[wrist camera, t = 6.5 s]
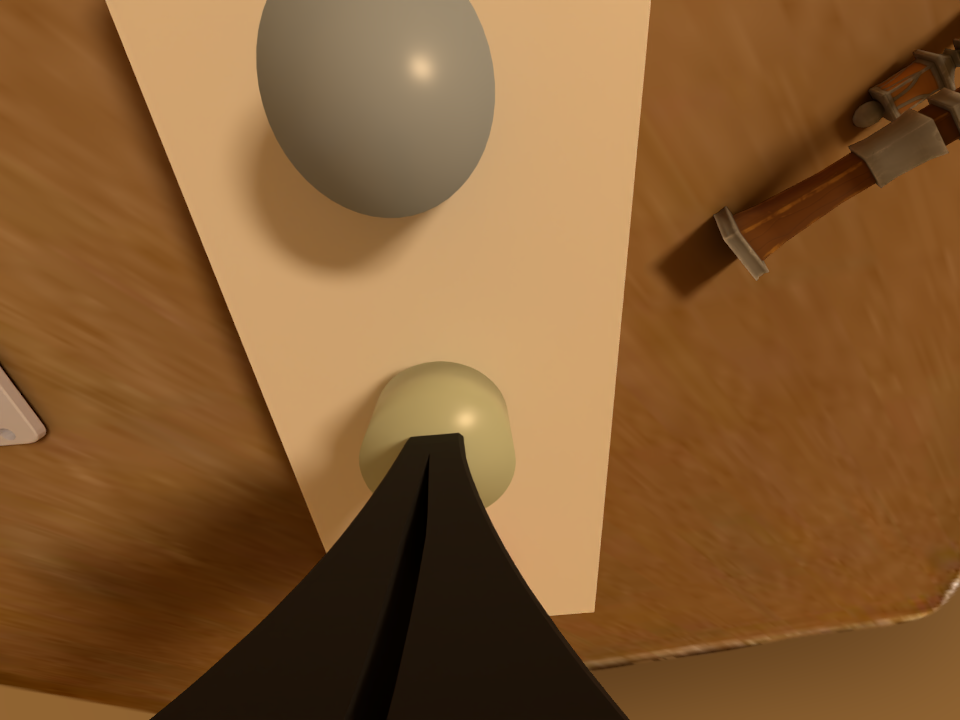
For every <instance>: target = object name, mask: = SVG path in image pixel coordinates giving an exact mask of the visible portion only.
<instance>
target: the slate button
mask: <svg viewBox="0 0 960 720" xmlns="http://www.w3.org/2000/svg"><path fill="white" fill-rule="evenodd" d="M256 69H257V77H258V86H259V91H260V95H261V99H262V104H263V107H264V110H265V113H266V116H267V119H268V122H269V124H270V126H271V129H272V131H273V133H274V135H275V137H276V140H277V141H278V143H279V145H280V146H281V148H282V150H283V151H284V153H285V155H286V156H287V157H288V159H289V160H290V162H291V163H292V164H293V166H294V167H295V168H296V169H297V171H298V172H299V173H300V174H301V175H302V176H303V177H304V178H305V179H306V180H307V181H308V182H309V183H310V184H311V185H312V186H313V187H314V188H316V189H317V190H318V191H319V192H320V193H322V194H323V195H325V196H326V197H327V198H329V199H330V200H332V201H334V202H335V203H337V204H339V205H341V206H343V207H345V208H347V209H350V210H352V211H355V212H357V213H361V214H364V215H368V216H373V217H381V218H401V217H407V216H413V215H416V214H419V213H423V212H426V211H428V210H430V209H432V208H434V207H436V206H438V205H439V204H441V203H442V202H444V201H445V200H447V199H448V198H450V197H451V196H452V195H453V194H454V193H455V192H456V191H458V190H459V189H460V188H461V186H462V185H463V184H464V183H465V182H466V181H467V179H468V178H469V177H470V175H471V174H472V172H473V171H474V169H475V168H476V166H477V164H478V162H479V160H480V158H481V156H482V154H483V152H484V150H485V147H486V144H487V141H488V138H489V135H490V131H491V126H492V122H493V115H494V107H495V79H494V69H493V62H492V58H491V53H490V49H489V45H488V42H487V39H486V36H485V33H484V30H483V27H482V25H481V22H480V20H479V18H478V16H477V14H476V12H475V9H474V8H473V6H472V4H471V3H470V1H469V0H267V1H266V3H265V6H264V9H263V12H262V16H261V20H260V24H259V28H258V37H257V46H256Z"/></svg>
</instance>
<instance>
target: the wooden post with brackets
mask: <svg viewBox="0 0 960 720" xmlns="http://www.w3.org/2000/svg"><path fill="white" fill-rule="evenodd" d="M953 44H954V47H955V50H951V49H946V48H945V50H944V52H943V54H935V53H931V52H927V51H923V50H919V49H917V50H916V51H914V52H913V54H914V56H915V58H916V60H914V61H913V62H912V63H911V64H910V65H908V66H907V67H905V68H904V69H902V70H901V71H899V72H897V73H896V74H894V75H893V76H891V77H890V78H888V79H886V80H885V81H883V82H882V83H880V84H878V85H876V86H875V87H873V88H870V89H869V90H868V91H869V93H870V95H871V97H872V99H873V100H874V101H869V102H866V103H864V104H863V105H861V106H860V107H859V108H858V109H857V110H856V111H855V113H854V115H853V123H854V125H855V126H857V127H862V128H863V127H869V126H871V125H873V124H875V123H876V122H878V121H879V120H880V119H881V118H882V117H884V118H885V119H887V120H889V121H891V123H890V124H888V125H886V126H885V127H883V128H882V129H880V130H878V131H877V132H875V133H874V134H872V135H870V136H869V137H867V138H866V139H864V140H862V141H859V142H857V143H855V144H853V145H850V146H848V147H849V149H850V151H851V153H849V154H848V155H846V156H845V157H843V158H841V159H840V160H838V161H836V162H835V163H833V164H832V165H830V166H828V167H827V168H825V169H823V170H822V171H820V172H819V173H817V174H815V175H813V176H811V177H809V178H807V179H805V180H803V181H802V182H800V183H798V184H796V185H794V186H792V187H790V188H788V189H786V190H785V191H783V192H781V193H779V194H777V195H775V196H773V197H771V198H769V199H767V200H766V201H764V202H762V203H760V204H758V205H755V206H753V207H751V208H749V209H746V210H744V211H742V212H740V213H737V214H735V215H732V213H731V212H730V211H729V209H728V208H727V207H726V206H725V207H724V209H722V210H721V211H720V212H718V213H717V214H714V217H715V220H716V222H717V225H718V227H719V230H720V232H721V235H722V237H723V239H724V241H725V242H726V243H727V245H728V246H729V247H730V248H731V250H732V251H733V252H734V253H735V255H736V256H737V257H738V258H739V260H740V261H741V262H742V263H743V265H744V266H745V267H746V268H747V270H748V271H749V272H750V273H751V275H752V276H753V277H754V278H755V280H756V281H757V280H758V278H759V277H760V276H761V275H763V274H764V273H767V272H769V270H768V268H767V267H766V265H765V263H764V261H763V260H764V259H766V258H767V257H768V256H769V255H770V254H772V253H773V252H774V251H775V250H776V249H778V248H779V247H780V246H781V245H783V244H784V243H785V242H786V241H788V240H789V239H791V238H792V237H794V236H795V235H796V234H798V233H799V232H801V231H802V230H804V229H805V228H807V227H808V226H809V225H811V224H812V223H814V222H815V221H817V220H818V219H819V218H821V217H822V216H824V215H825V214H827V213H828V212H830V211H831V210H832V209H834V208H835V207H837V206H838V205H840V204H841V203H843V202H844V201H846V200H848V199H849V198H851V197H853V196H855V195H856V194H858V193H860V192H861V191H863V190H865V189H866V188H868V187H870V186H872V185H873V184H875V183H876V184H877V185H878V186H880V187H881V188H882V187H883V186H885V185H886V184H887V183H889V182H890V181H892V180H893V179H894V178H896V177H898V176H900V175H902V174H903V173H905V172H907V171H909V170H911V169H913V168H915V167H917V166H919V165H921V164H922V163H924V162H926V161H928V160H931V159H933V158H936V157H939V156H941V155H944V154H947V153H949V152H948V150H947V148H946V145H948V144H950V143H951V142H953V141H955V140H956V139H959V140H960V88H958V89H956V88H955V84H954V72H955V68H956V67H960V39H955V38H954V39H953ZM939 90H940V91H939ZM937 91H939V92H938V93H936V94H934V93H935V92H937ZM932 94H934V95H932ZM931 95H932V96H931ZM925 99H927V100H928V102H929V104H930V105H928V106H926V107H925V108H923V109H921V110H920V111H918V112H917V111H914V110H912V108H914V107H915V106H917V105H918V104H919V103H921V102H922V101H924V100H925Z"/></svg>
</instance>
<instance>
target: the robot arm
mask: <svg viewBox="0 0 960 720" xmlns="http://www.w3.org/2000/svg"><path fill="white" fill-rule="evenodd" d="M45 434H46V429H45V427H44V425H43V424H42V422H41V421H40V419H39V418H38V417H37V415H36V414H35V413H34V411H33V410H32V409H31V407H30V406H29V405H28V403H27V402H26V401H25V399H24V398H23V396H22V395H21V394H20V392H19V391H18V390H17V388H16V387H15V386H14V384H13V383H12V382H11V380H10V379H9V378H8V376H7V375H6V373H5V372H4V371H3V369H2V368H1V367H0V446H5V445H16V444H28V443H33V442H36V441H37V440H39V439H41V438H42V437H43V436H44V435H45ZM150 720H629V719H628V717H627V716H626V715H625V714H624V712H623V711H622V710H621V709H620V708H619V707H618V705H617V704H616V703H615V702H614V700H612V698H611V697H610V696H609V694H608V693H607V692H606V691H605V689H604V688H603V687H602V686H601V684H600V683H599V682H598V681H597V679H596V678H595V677H594V676H593V674H592V673H591V672H590V671H589V669H588V668H587V667H586V666H585V664H584V663H583V662H582V660H581V659H580V658H579V656H578V655H577V654H576V652H575V651H574V650H573V648H572V647H571V646H570V644H569V643H568V642H567V640H566V639H565V638H564V636H563V635H562V634H561V632H560V631H559V630H558V628H557V627H556V625H555V624H554V622H553V621H552V619H551V618H550V617H549V615H548V614H547V612H546V611H545V609H544V608H543V606H542V605H541V603H540V602H539V601H538V599H537V598H536V596H535V595H534V593H533V592H532V590H531V589H530V588H529V586H528V584H527V583H526V581H525V580H524V578H523V576H522V575H521V573H520V572H519V570H518V568H517V567H516V565H515V563H514V562H513V560H512V558H511V557H510V555H509V553H508V551H507V550H506V548H505V546H504V544H503V543H502V541H501V539H500V537H499V535H498V533H497V531H496V530H495V528H494V526H493V524H492V522H491V519H490V517H489V515H488V513H487V511H486V509H485V507H484V505H483V503H482V500H481V498H480V496H479V493H478V491H477V488H476V486H475V483H474V480H473V478H472V475H471V472H470V469H469V466H468V462H467V459H466V452H465V444H464V436H463V435H461V434H460V433H449V434H438V435H426V436H414V437H410V438H409V439H408V440H407V442H406V443H405V445H404V447H403V448H402V450H401V452H400V453H399V455H398V456H397V458H396V460H395V461H394V463H393V464H392V466H391V468H390V469H389V471H388V472H387V474H386V475H385V477H384V478H383V480H382V481H381V483H380V484H379V485H378V487H377V488H376V490H375V491H374V493H373V494H372V496H371V497H370V498H369V500H368V501H367V503H366V504H365V505H364V507H363V508H362V509H361V511H360V512H359V513H358V515H357V516H356V517H355V518H354V520H353V521H352V522H351V524H350V525H349V526H348V528H347V529H346V530H345V531H344V533H343V534H342V535H341V536H340V538H339V539H338V540H337V541H336V543H335V544H334V545H333V546H332V547H331V549H330V550H329V551H328V552H327V553H326V554H325V556H324V557H323V558H322V559H321V560H320V561H319V562H318V563H317V565H316V566H315V567H314V568H313V569H312V570H311V571H310V572H309V573H308V575H307V576H306V577H305V578H304V579H303V580H302V581H301V582H300V583H299V584H298V585H297V586H296V587H295V588H294V589H293V590H292V591H291V592H290V593H289V594H288V595H287V596H286V597H285V599H284V600H283V601H282V602H281V603H280V604H279V605H278V606H277V607H276V608H275V609H274V610H273V611H272V612H271V613H270V614H269V615H268V616H267V617H266V618H265V619H264V620H263V621H262V622H261V623H260V624H258V625H257V626H256V627H255V628H254V629H253V630H252V631H251V632H250V633H249V634H248V635H247V636H246V637H245V638H243V639H242V640H241V641H240V642H239V643H238V644H237V645H236V646H235V647H233V648H232V649H231V650H230V651H229V652H228V653H227V654H226V655H225V656H224V657H222V658H221V659H220V660H219V661H218V662H217V663H216V664H215V665H214V666H213V667H211V668H210V669H209V670H208V671H207V672H206V673H205V674H204V675H202V676H201V677H200V678H199V679H198V680H197V681H196V682H194V683H193V684H192V685H191V686H190V687H189V688H187V689H186V690H185V691H184V692H183V693H182V694H180V695H179V696H178V697H177V698H176V699H174V700H173V701H172V702H171V703H170V704H168V705H167V706H166V707H165V708H163V709H162V710H161V711H160V712H158V713H157V714H156V715H155V716H154V717H152V718H151V719H150Z"/></svg>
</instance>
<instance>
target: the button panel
mask: <svg viewBox="0 0 960 720" xmlns="http://www.w3.org/2000/svg"><path fill="white" fill-rule="evenodd" d="M105 1H106V4H107V6H108V9H109V11H110V14H111V16H112V19H113V21H114V24H115V26H116V29H117V31H118V34H119V36H120V39H121V41H122V44H123V46H124V49H125V51H126V54H127V56H128V59H129V61H130V64H131V66H132V69H133V71H134V74H135V76H136V79H137V81H138V84H139V86H140V89H141V91H142V94H143V96H144V99H145V101H146V104H147V106H148V109H149V111H150V114H151V116H152V119H153V121H154V124H155V126H156V129H157V131H158V134H159V136H160V139H161V141H162V144H163V146H164V149H165V151H166V154H167V156H168V159H169V161H170V164H171V166H172V169H173V171H174V174H175V176H176V179H177V181H178V184H179V186H180V189H181V191H182V194H183V196H184V199H185V201H186V204H187V206H188V209H189V211H190V214H191V216H192V219H193V221H194V224H195V226H196V229H197V231H198V234H199V236H200V239H201V241H202V244H203V246H204V249H205V251H206V254H207V256H208V259H209V261H210V264H211V266H212V269H213V271H214V274H215V276H216V279H217V281H218V284H219V286H220V289H221V291H222V294H223V296H224V299H225V301H226V304H227V306H228V309H229V311H230V314H231V316H232V319H233V321H234V324H235V326H236V329H237V331H238V334H239V336H240V339H241V341H242V344H243V346H244V349H245V351H246V354H247V356H248V359H249V361H250V364H251V366H252V369H253V371H254V374H255V376H256V379H257V381H258V384H259V386H260V389H261V391H262V394H263V396H264V399H265V401H266V404H267V406H268V409H269V411H270V414H271V416H272V419H273V421H274V424H275V426H276V429H277V431H278V434H279V436H280V439H281V441H282V444H283V446H284V449H285V451H286V454H287V456H288V459H289V461H290V464H291V466H292V469H293V471H294V474H295V476H296V479H297V481H298V484H299V486H300V489H301V491H302V494H303V496H304V499H305V501H306V504H307V506H308V509H309V511H310V514H311V516H312V519H313V521H314V524H315V526H316V529H317V531H318V534H319V536H320V539H321V541H322V544H323V546H324V549H325V551H326V553H327V552H328V551H329V550H330V549H331V547H332V546H333V545H334V544H335V543H336V541H337V540H338V539H339V538H340V536H341V535H342V534H343V533H344V531H345V530H346V529H347V528H348V526H349V525H350V524H351V522H352V521H353V520H354V518H355V517H356V516H357V515H358V513H359V512H360V511H361V509H362V508H363V507H364V505H365V504H366V503H367V501H368V500H369V498H370V497H371V496H372V494H373V493H372V492H371V491H370V489H369V488H368V487H367V485H366V483H365V481H364V479H363V477H362V474H361V471H360V466H359V453H360V448H361V445H362V442H363V439H364V436H365V433H366V431H367V428H368V425H369V423H370V420H371V417H372V415H373V412H374V409H375V407H376V404H377V401H378V398H379V396H380V394H381V392H382V390H383V389H384V388H385V386H386V385H387V384H388V383H389V382H390V380H391V379H392V378H394V377H395V376H396V375H398V374H399V373H400V372H402V371H404V370H406V369H408V368H410V367H412V366H415V365H418V364H422V363H427V362H435V361H445V362H454V363H459V364H463V365H466V366H469V367H471V368H473V369H475V370H478V371H479V372H481V373H482V374H484V375H485V376H487V377H488V378H489V379H490V380H491V381H492V382H493V383H494V384H495V385H496V386H497V387H498V389H499V390H500V392H501V393H502V395H503V397H504V399H505V402H506V405H507V410H508V416H509V422H510V427H511V433H512V439H513V445H514V450H515V458H516V466H515V472H514V476H513V478H512V481H511V483H510V485H509V486H508V488H507V490H506V491H505V492H504V493H503V495H502V496H501V497H500V498H499V499H498V500H497V501H495V502H494V503H493V504H492V505H490V506H489V507H487V508H485V509H486V511H487V513H488V515H489V517H490V519H491V522H492V524H493V526H494V528H495V530H496V531H497V533H498V535H499V537H500V539H501V541H502V543H503V544H504V546H505V548H506V550H507V551H508V553H509V555H510V557H511V558H512V559H513V561H514V563H515V565H516V567H517V568H518V570H519V572H520V573H521V575H522V576H523V578H524V580H525V581H526V583H527V584H528V586H529V588H530V589H531V590H532V592H533V593H534V595H535V596H536V598H537V599H538V601H539V602H540V603H541V605H542V606H543V608H544V609H545V611H546V612H547V614H548V615H549V616H552V615H564V614H576V613H588V612H594V609H595V598H596V588H597V577H598V566H599V555H600V544H601V534H602V523H603V512H604V501H605V490H606V480H607V469H608V458H609V447H610V436H611V426H612V415H613V404H614V393H615V382H616V372H617V361H618V350H619V339H620V328H621V318H622V307H623V296H624V285H625V274H626V264H627V253H628V242H629V231H630V220H631V210H632V199H633V188H634V177H635V166H636V156H637V145H638V134H639V123H640V112H641V102H642V91H643V80H644V69H645V58H646V48H647V37H648V26H649V15H650V4H651V0H469V1H470V3H471V4H472V6H473V8H474V9H475V12H476V14H477V16H478V18H479V20H480V22H481V25H482V27H483V30H484V33H485V36H486V39H487V42H488V45H489V49H490V53H491V58H492V62H493V69H494V79H495V107H494V115H493V122H492V126H491V131H490V135H489V138H488V141H487V144H486V147H485V150H484V152H483V154H482V156H481V158H480V160H479V162H478V164H477V166H476V168H475V169H474V171H473V172H472V174H471V175H470V177H469V178H468V179H467V181H466V182H465V183H464V184H463V185H462V186H461V188H460V189H459V190H458V191H456V192H455V193H454V194H453V195H452V196H451V197H450V198H448V199H447V200H445V201H444V202H442V203H441V204H439V205H438V206H436V207H434V208H432V209H430V210H428V211H426V212H423V213H419V214H416V215H413V216H407V217H401V218H381V217H373V216H368V215H364V214H361V213H357V212H355V211H352V210H350V209H347V208H345V207H343V206H341V205H339V204H337V203H335V202H334V201H332V200H330V199H329V198H327V197H326V196H325V195H323V194H322V193H320V192H319V191H318V190H317V189H316V188H314V187H313V186H312V185H311V184H310V183H309V182H308V181H307V180H306V179H305V178H304V177H303V176H302V175H301V174H300V173H299V172H298V171H297V169H296V168H295V167H294V166H293V164H292V163H291V162H290V160H289V159H288V157H287V156H286V155H285V153H284V151H283V150H282V148H281V146H280V145H279V143H278V141H277V140H276V137H275V135H274V133H273V131H272V129H271V126H270V124H269V122H268V119H267V116H266V113H265V110H264V107H263V104H262V99H261V95H260V91H259V86H258V77H257V69H256V46H257V37H258V28H259V24H260V20H261V16H262V12H263V9H264V6H265V3H266V1H267V0H105Z"/></svg>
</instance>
